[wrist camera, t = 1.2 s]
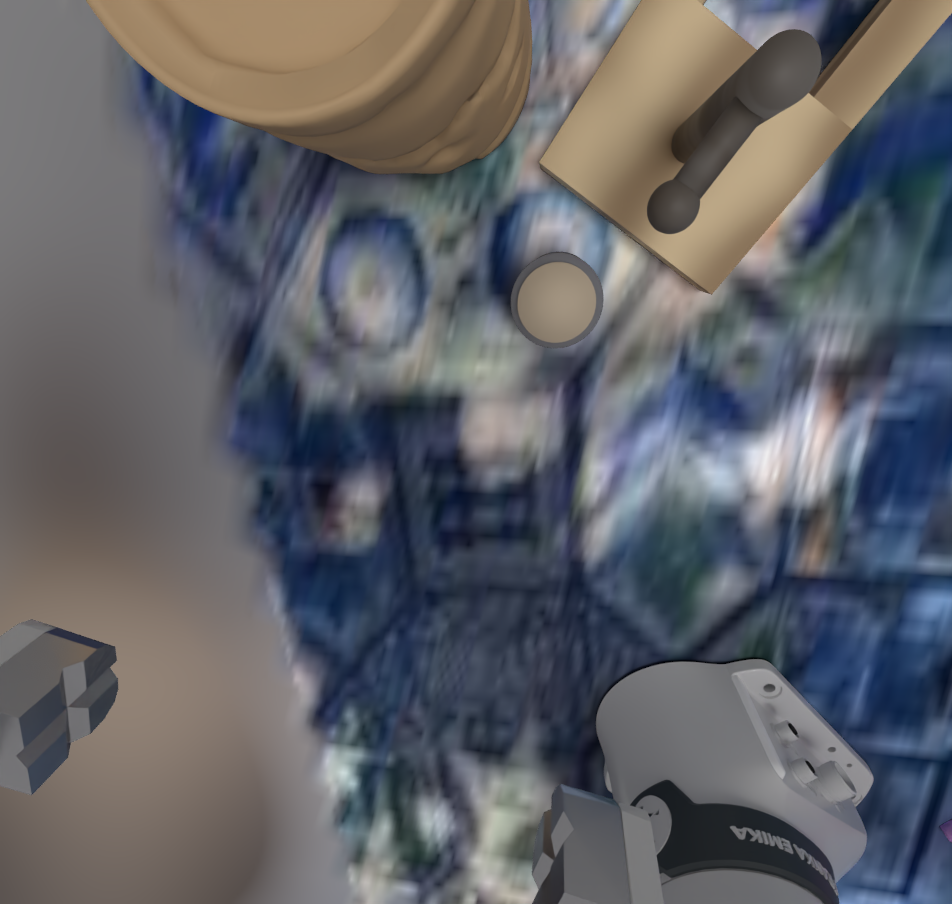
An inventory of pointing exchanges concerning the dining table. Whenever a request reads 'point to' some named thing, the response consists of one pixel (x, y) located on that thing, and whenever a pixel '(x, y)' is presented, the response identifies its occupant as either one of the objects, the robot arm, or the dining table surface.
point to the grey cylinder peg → (557, 300)
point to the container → (344, 71)
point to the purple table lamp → (947, 829)
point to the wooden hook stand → (720, 125)
